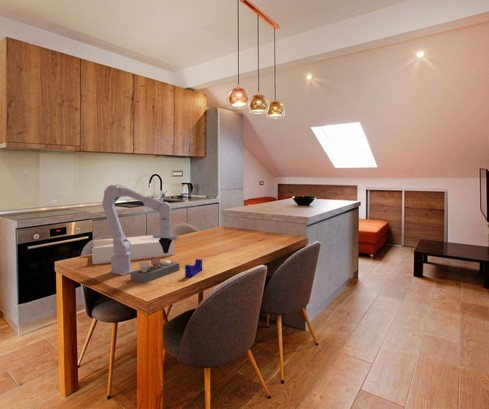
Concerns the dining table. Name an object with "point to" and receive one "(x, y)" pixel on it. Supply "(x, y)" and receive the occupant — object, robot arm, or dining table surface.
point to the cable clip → (193, 268)
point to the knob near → (144, 266)
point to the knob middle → (155, 263)
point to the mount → (153, 272)
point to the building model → (139, 249)
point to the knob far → (166, 262)
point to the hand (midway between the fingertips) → (165, 252)
